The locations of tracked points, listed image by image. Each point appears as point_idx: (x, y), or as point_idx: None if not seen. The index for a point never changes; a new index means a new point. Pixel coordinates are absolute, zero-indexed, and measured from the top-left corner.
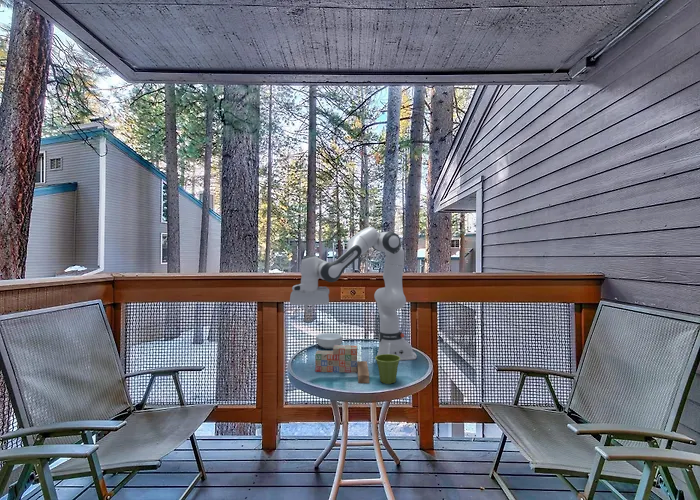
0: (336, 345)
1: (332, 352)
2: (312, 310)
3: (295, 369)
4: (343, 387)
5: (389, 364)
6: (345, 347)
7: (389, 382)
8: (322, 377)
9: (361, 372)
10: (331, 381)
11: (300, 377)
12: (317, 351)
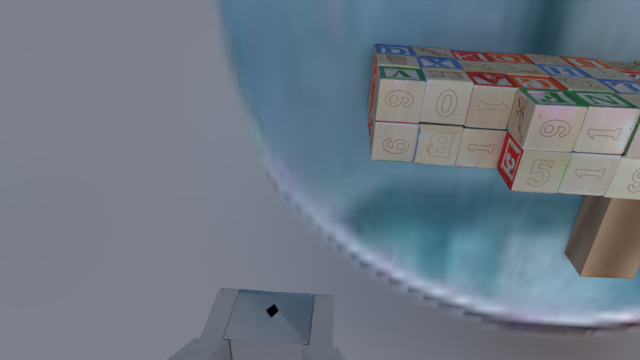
0: (557, 115)
1: (500, 127)
2: (332, 338)
3: (248, 69)
4: (488, 282)
5: None
6: (618, 170)
7: None
8: (405, 185)
9: (610, 246)
10: (445, 228)
11: (297, 180)
12: (386, 103)
